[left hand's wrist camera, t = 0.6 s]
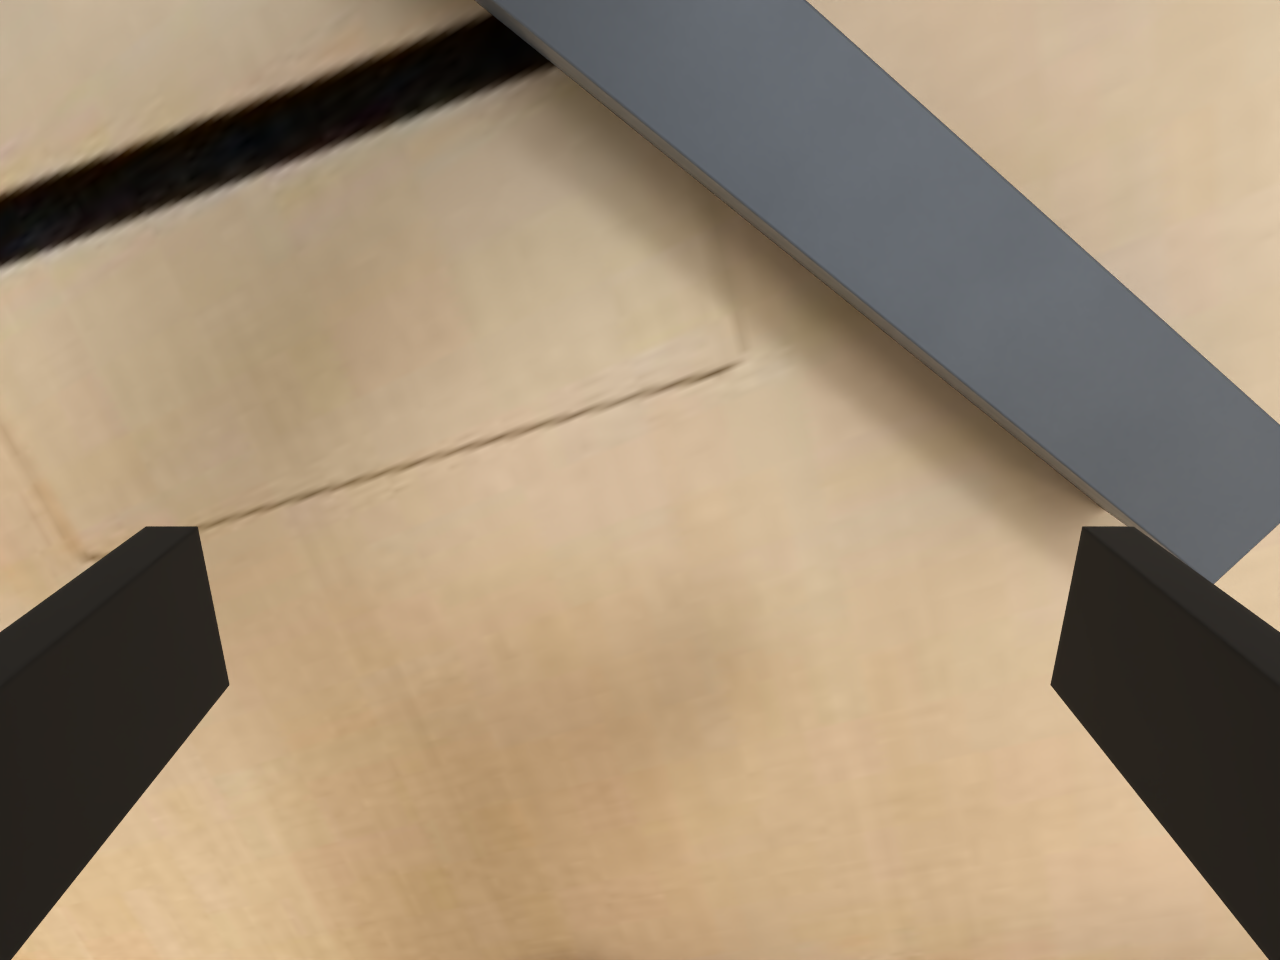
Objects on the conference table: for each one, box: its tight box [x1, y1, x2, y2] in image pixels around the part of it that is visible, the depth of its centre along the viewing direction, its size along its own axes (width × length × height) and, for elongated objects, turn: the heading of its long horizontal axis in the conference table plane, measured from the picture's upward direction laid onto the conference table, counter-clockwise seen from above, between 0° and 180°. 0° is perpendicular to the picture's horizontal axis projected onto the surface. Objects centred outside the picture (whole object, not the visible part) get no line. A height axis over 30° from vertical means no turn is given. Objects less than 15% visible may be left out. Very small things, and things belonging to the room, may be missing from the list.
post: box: [475, 0, 1280, 584], centre depth 29 cm, size 54×6×8 cm, turn 53°
